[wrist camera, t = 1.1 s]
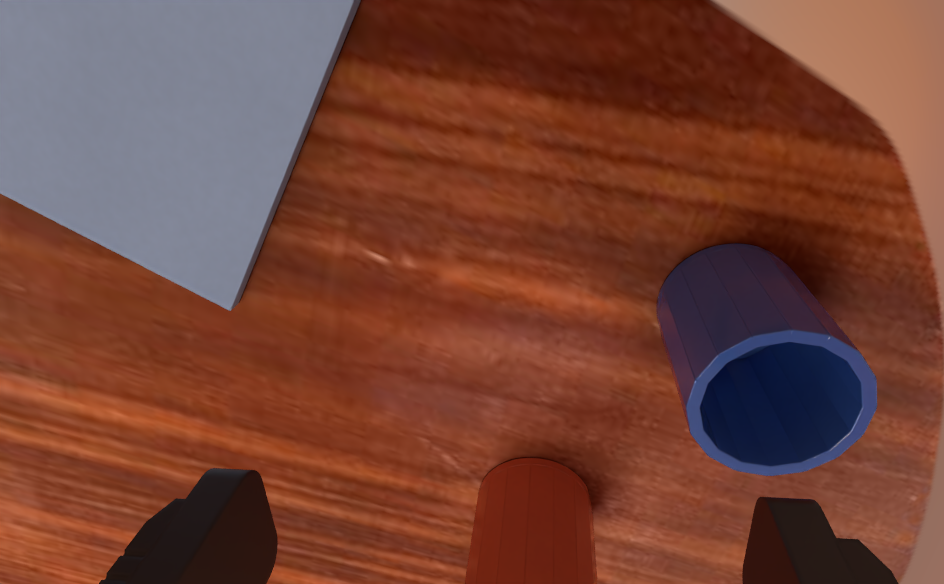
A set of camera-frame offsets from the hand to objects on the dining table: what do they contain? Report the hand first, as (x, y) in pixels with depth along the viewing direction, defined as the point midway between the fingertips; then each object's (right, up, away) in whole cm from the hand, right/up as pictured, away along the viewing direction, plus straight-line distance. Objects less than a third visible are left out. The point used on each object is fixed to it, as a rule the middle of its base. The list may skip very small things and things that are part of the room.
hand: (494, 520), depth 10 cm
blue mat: (-17, +15, +17) cm, 29 cm away
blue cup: (+12, +3, +19) cm, 23 cm away
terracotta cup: (+3, -9, +26) cm, 28 cm away
